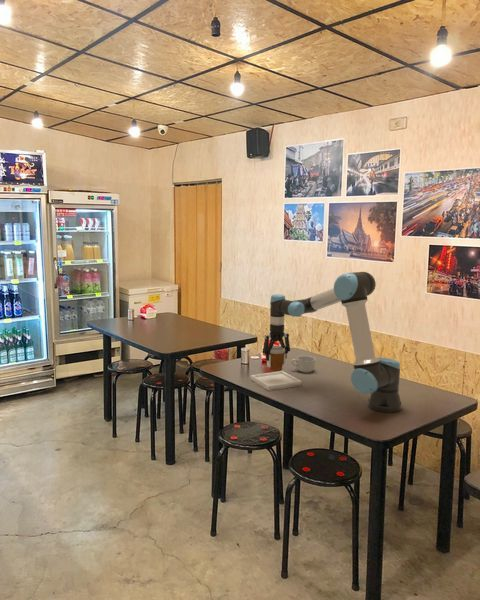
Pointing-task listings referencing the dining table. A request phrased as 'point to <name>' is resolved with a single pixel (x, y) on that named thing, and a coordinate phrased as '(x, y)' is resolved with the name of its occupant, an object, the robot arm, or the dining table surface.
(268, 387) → the tray
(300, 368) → the teacup
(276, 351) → the disposable coffee cup
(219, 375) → the dining table surface
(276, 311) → the robot arm
